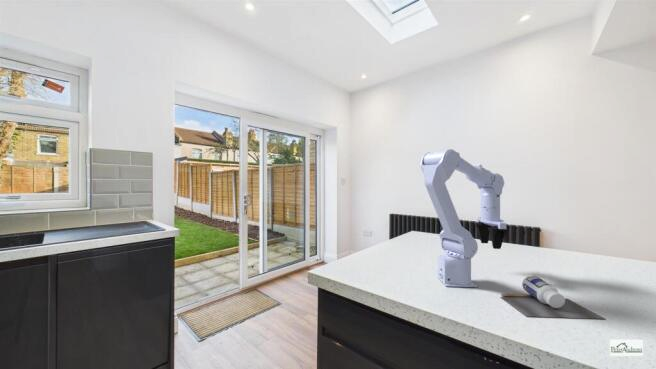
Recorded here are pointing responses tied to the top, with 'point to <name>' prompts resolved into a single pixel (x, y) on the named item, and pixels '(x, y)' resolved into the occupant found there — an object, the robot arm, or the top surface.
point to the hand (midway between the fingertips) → (490, 245)
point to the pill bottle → (543, 291)
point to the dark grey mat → (547, 308)
